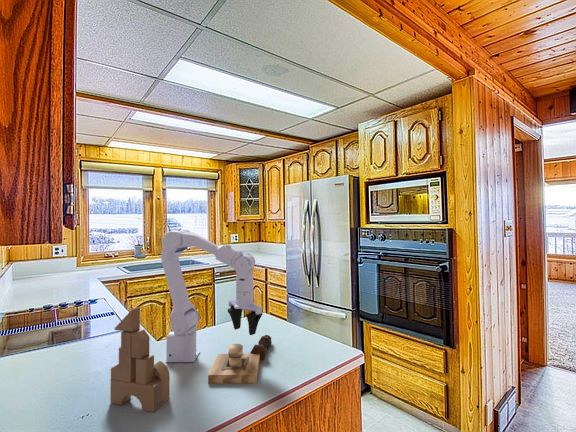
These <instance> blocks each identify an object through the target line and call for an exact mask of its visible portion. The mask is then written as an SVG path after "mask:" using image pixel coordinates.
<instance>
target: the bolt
mask: <svg viewBox="0 0 576 432" xmlns="http://www.w3.org/2000/svg"><path fill="white" fill-rule="evenodd" d="M271 345H272V337H271V336H270V335H269V334H265V335H262V336H260V338H259V339H258V344H254V345H253V348H252V349H251V351H250V353H249V354H260V362H263V361H264V360H265V358H266V356H267V354H268V349H269V348H270V346H271Z"/></svg>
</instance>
